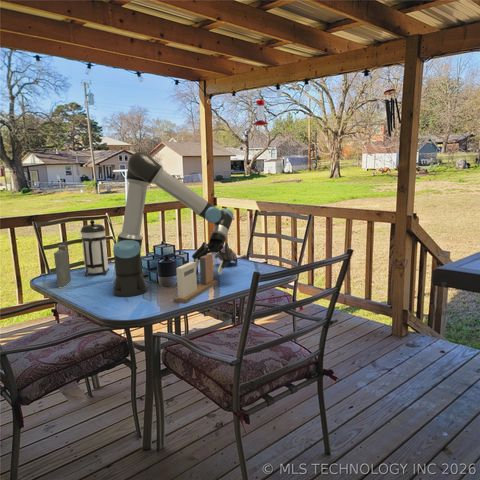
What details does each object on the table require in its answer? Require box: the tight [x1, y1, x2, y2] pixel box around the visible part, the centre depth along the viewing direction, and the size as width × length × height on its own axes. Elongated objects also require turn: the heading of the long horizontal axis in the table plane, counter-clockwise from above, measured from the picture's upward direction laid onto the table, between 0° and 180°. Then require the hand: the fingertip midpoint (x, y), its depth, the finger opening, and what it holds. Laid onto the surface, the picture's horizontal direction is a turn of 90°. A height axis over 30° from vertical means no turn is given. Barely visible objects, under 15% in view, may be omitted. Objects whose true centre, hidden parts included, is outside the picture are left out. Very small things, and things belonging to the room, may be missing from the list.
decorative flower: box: [214, 247, 238, 266], centre depth 226 cm, size 15×12×15 cm
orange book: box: [199, 253, 214, 284], centre depth 187 cm, size 8×3×13 cm, turn 157°
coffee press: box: [80, 219, 110, 277], centre depth 214 cm, size 17×16×30 cm
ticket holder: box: [173, 261, 219, 304], centre depth 177 cm, size 30×6×15 cm, turn 157°
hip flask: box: [53, 244, 72, 288], centre depth 198 cm, size 16×4×20 cm, turn 11°
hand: (206, 272), depth 186 cm, fingers open, 13 cm apart
